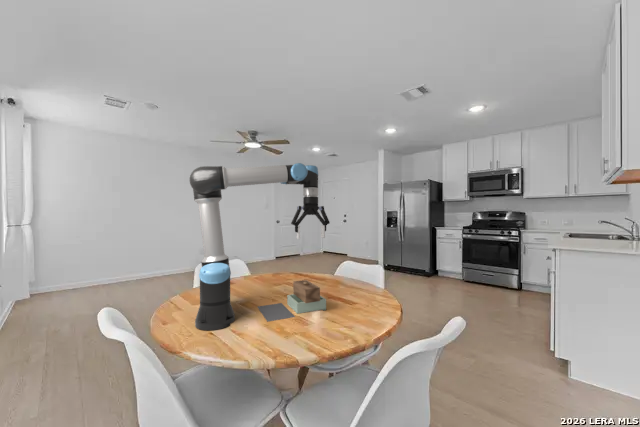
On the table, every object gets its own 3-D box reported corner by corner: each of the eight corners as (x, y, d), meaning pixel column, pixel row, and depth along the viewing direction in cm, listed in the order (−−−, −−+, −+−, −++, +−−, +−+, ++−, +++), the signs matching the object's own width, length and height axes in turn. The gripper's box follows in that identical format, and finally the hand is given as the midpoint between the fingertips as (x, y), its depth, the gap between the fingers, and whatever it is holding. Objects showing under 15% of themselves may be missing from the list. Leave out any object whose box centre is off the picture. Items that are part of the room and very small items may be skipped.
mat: (267, 323, 111) (267, 321, 111) (256, 307, 129) (256, 306, 129) (295, 318, 116) (295, 316, 116) (281, 304, 134) (281, 302, 134)
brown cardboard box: (305, 303, 120) (305, 287, 120) (293, 293, 134) (293, 279, 134) (320, 301, 123) (319, 285, 123) (306, 291, 137) (306, 277, 137)
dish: (297, 315, 119) (297, 303, 119) (287, 305, 132) (287, 295, 132) (326, 310, 125) (326, 299, 125) (313, 301, 138) (313, 291, 138)
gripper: (289, 195, 130) (289, 240, 130) (336, 196, 140) (336, 237, 140) (284, 196, 137) (285, 238, 136) (329, 197, 147) (329, 236, 147)
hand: (311, 238), depth 138 cm, fingers open, 13 cm apart
